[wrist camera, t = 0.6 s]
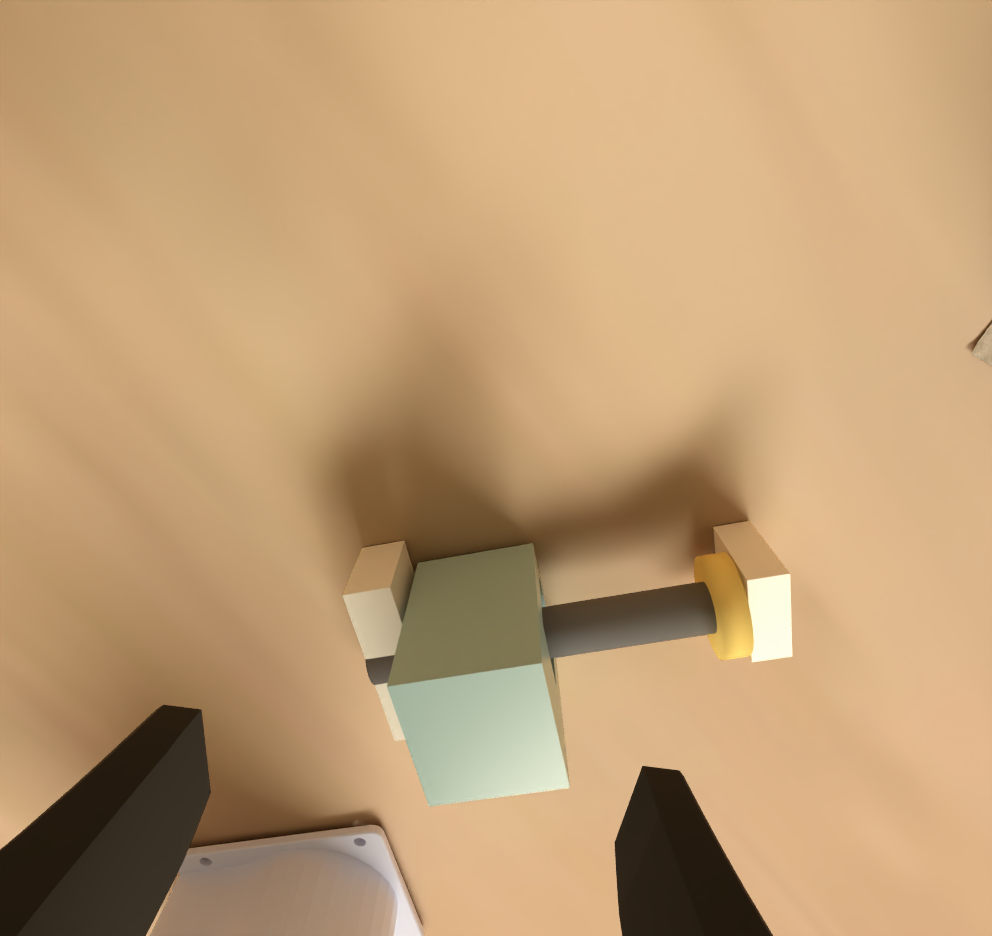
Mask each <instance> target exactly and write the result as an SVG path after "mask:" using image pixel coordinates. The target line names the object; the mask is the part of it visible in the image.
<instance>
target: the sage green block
mask: <svg viewBox="0 0 992 936" xmlns="http://www.w3.org/2000/svg"><path fill="white" fill-rule="evenodd" d="M542 607H546V602H545V597H544V593H543V588H542V583H541V578H540V574H539V569H538V564H537V559H536V555H535V550H534V545H533V543H530V544H524V545H518V546H513V547H507V548H501V549H495V550H489V551H483V552H478V553H472V554H466V555H460V556H454V557H448V558H443V559H437V560H431V561H425V562H419V563H418V564H417V568H416V572H415V576H414V580H413V584H412V588H411V592H410V596H409V600H408V604H407V608H406V612H405V616H404V620H403V624H402V628H401V632H400V636H399V640H398V644H397V648H396V652H395V656H394V660H393V664H392V668H391V672H390V676H389V680H388V684H387V689H388V692H389V694H390V697H391V700H392V703H393V706H394V709H395V711H396V714H397V717H398V720H399V723H400V726H401V728H402V731H403V734H404V737H405V740H406V743H407V745H408V748H409V751H410V754H411V757H412V759H413V762H414V765H415V768H416V771H417V774H418V776H419V779H420V782H421V785H422V788H423V791H424V793H425V796H426V799H427V802H428V805H429V806H437V805H444V804H452V803H460V802H467V801H475V800H482V799H490V798H497V797H505V796H513V795H520V794H528V793H535V792H543V791H551V790H558V789H566V788H570V784H569V775H568V766H567V756H566V747H565V737H564V728H563V718H562V709H561V699H560V690H559V680H558V671H557V662H556V658H551V659H550V655H549V650H548V645H547V641H546V636H545V632H544V627H543V618H542Z"/></svg>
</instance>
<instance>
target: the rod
mask: <svg viewBox="0 0 992 936" xmlns="http://www.w3.org/2000/svg"><path fill="white" fill-rule="evenodd" d="M694 577H695V583H691V584H685V585H678V586H672V587H666V588H660V589H653V590H647V591H641V592H635V593H629V594H622V595H616V596H610V597H604V598H598V599H591V600H585V601H579V602H573V603H566V604H560V605H554V606H548V607H542V618H543V627H544V632H545V636H546V641H547V645H548V650H549V655H550V659H551V658H557V657H564V656H570V655H577V654H583V653H590V652H597V651H603V650H610V649H616V648H623V647H629V646H636V645H642V644H649V643H656V642H662V641H669V640H675V639H682V638H688V637H695V636H701V635H708V638H709V641H710V643H711V646H712V648H713V650H714V652H715V654H716V655H717V657H718V658H719V659H720V660H727V659H734V658H741V657H747V656H751V654H752V652H753V647H754V635H753V625H752V619H751V613H750V609H749V604H748V600H747V597H746V593H745V590H744V587H743V584H742V581H741V578H740V575H739V573H738V571H737V568H736V566H735V564H734V563H733V561H732V559H731V558H730V556H729V555H728V554H727V553H725V552H721V553H715V554H709V555H703V556H697V557H696V558H695V562H694ZM394 656H395V655H391V656H385V657H378V658H372V659H366V668H367V672H368V676H369V678H370V680H371V682H372V683H373V684H374V685H378V684H385V683H388V680H389V676H390V672H391V668H392V664H393V660H394Z"/></svg>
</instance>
